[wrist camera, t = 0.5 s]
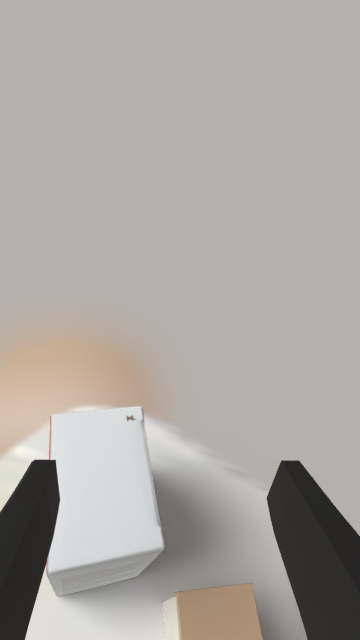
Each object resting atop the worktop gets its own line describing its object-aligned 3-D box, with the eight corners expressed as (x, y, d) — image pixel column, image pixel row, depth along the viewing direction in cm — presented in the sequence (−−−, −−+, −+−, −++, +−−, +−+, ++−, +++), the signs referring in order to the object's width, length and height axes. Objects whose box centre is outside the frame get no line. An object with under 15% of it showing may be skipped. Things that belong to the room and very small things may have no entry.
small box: (56, 473, 27) (49, 409, 20) (125, 464, 29) (143, 401, 21) (53, 600, 22) (42, 578, 15) (138, 579, 24) (167, 549, 16)
